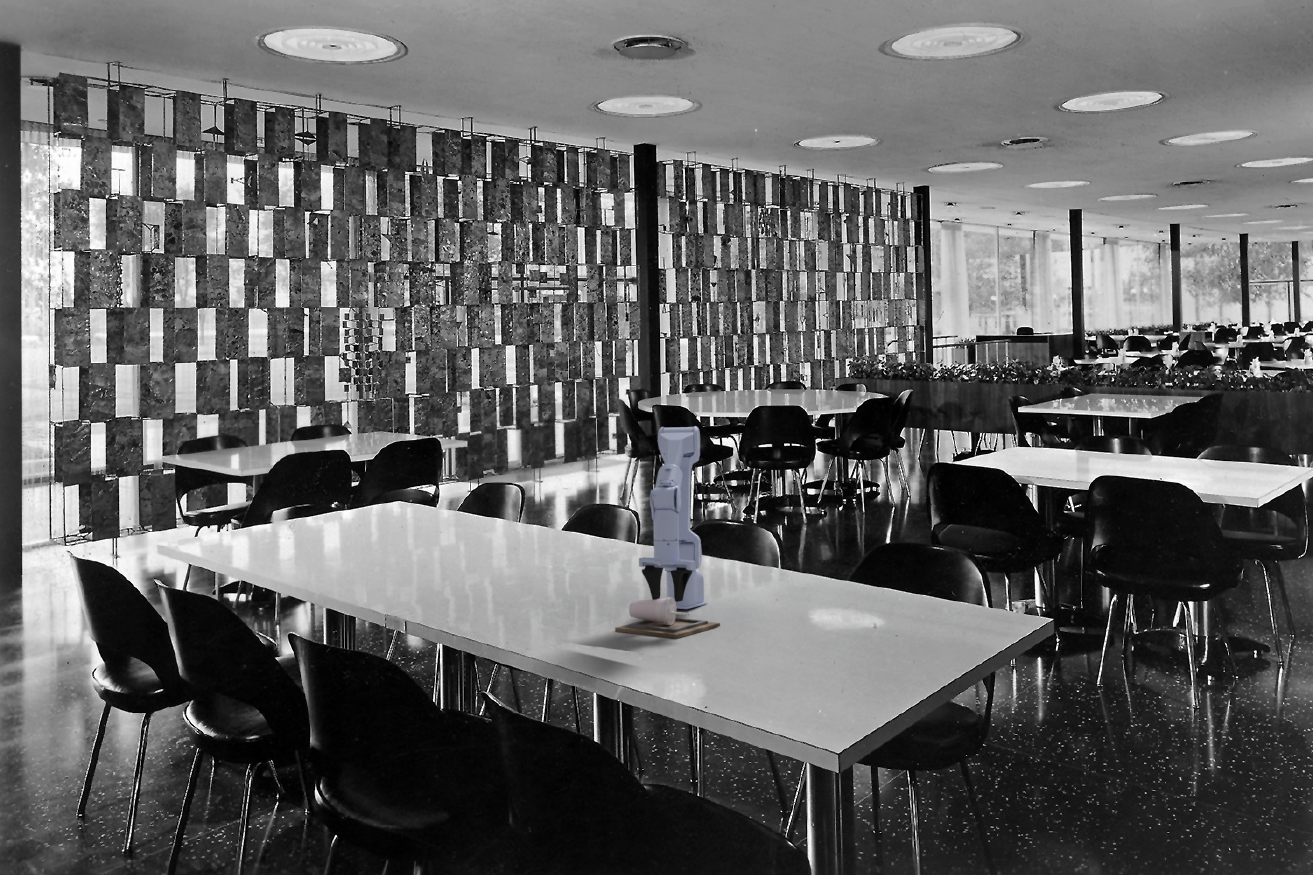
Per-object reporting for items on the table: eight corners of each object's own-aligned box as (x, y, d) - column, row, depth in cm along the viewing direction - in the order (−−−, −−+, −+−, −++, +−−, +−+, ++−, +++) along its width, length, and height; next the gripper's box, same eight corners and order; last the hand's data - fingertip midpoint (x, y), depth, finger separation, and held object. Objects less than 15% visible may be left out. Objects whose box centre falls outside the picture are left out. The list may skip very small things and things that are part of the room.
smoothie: (624, 606, 238) (682, 610, 232) (634, 589, 243) (691, 592, 237) (630, 628, 241) (687, 632, 235) (640, 611, 246) (696, 614, 240)
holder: (660, 619, 250) (660, 613, 250) (720, 626, 240) (720, 620, 240) (615, 631, 236) (615, 624, 236) (676, 638, 226) (676, 632, 226)
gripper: (630, 540, 239) (631, 599, 239) (682, 542, 230) (683, 604, 230) (649, 537, 245) (650, 595, 245) (700, 540, 236) (701, 600, 236)
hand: (667, 600), depth 238 cm, fingers open, 6 cm apart
